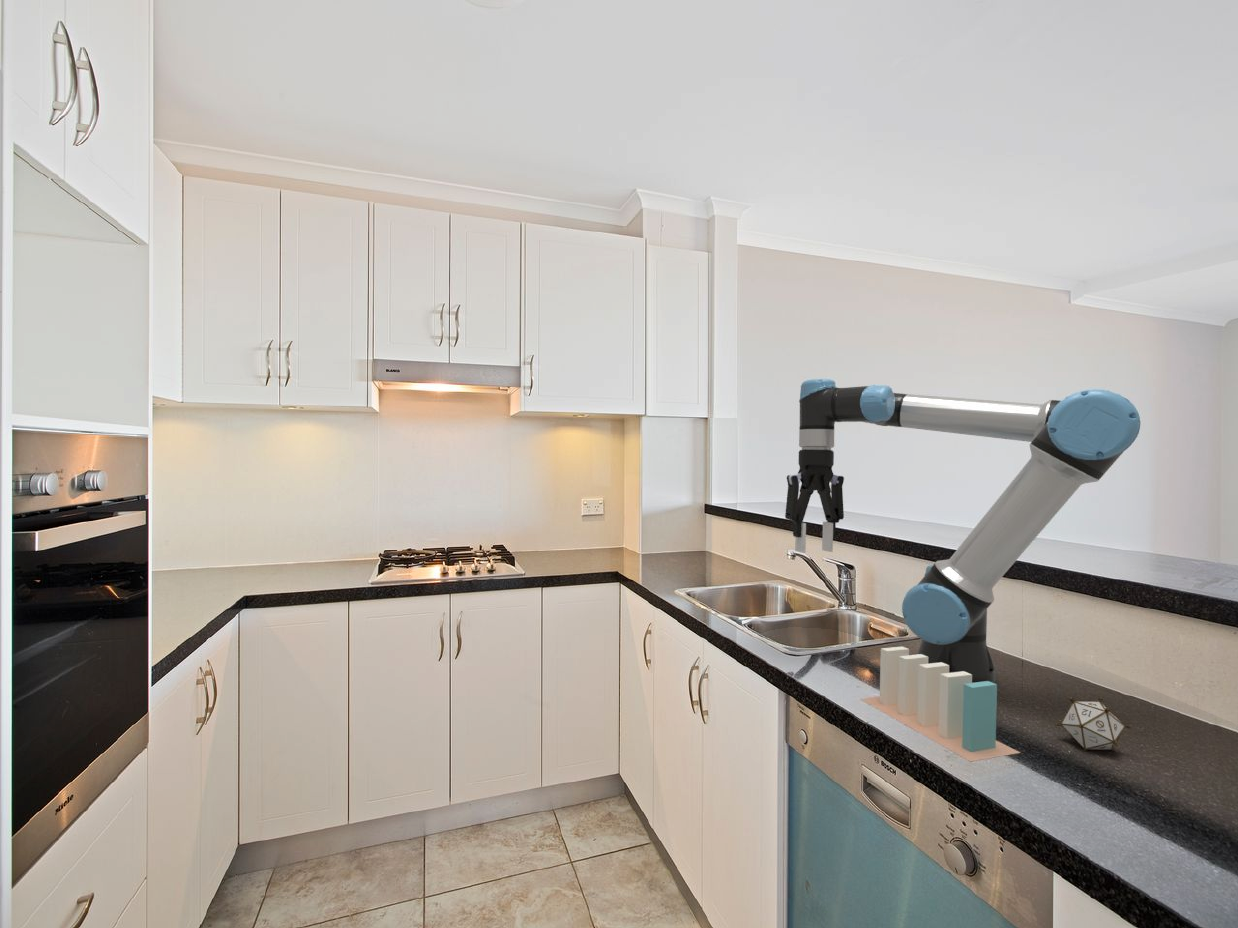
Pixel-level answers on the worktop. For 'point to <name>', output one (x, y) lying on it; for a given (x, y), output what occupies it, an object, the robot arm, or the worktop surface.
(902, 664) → the domino
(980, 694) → the domino
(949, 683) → the domino
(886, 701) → the domino
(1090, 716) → the game die
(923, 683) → the domino
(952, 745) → the mat
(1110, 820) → the worktop surface
